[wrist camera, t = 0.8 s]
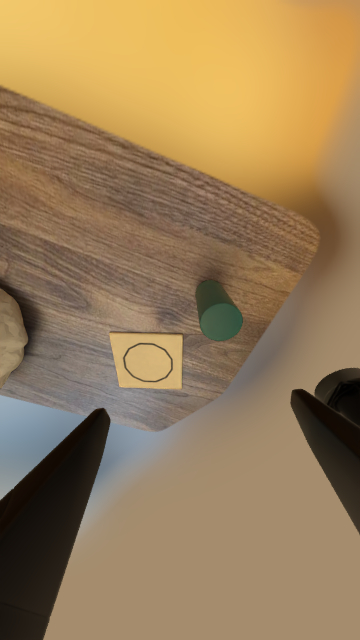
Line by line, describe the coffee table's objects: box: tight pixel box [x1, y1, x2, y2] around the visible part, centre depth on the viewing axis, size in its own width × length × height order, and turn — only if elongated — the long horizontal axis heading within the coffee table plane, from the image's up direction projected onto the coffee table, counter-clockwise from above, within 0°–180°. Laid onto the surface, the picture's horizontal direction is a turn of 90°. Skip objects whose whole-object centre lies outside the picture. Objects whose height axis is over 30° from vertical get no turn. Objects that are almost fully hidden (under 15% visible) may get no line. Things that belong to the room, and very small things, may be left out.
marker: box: [195, 280, 243, 341], centre depth 17 cm, size 3×3×8 cm
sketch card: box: [109, 332, 183, 389], centre depth 25 cm, size 10×10×1 cm
